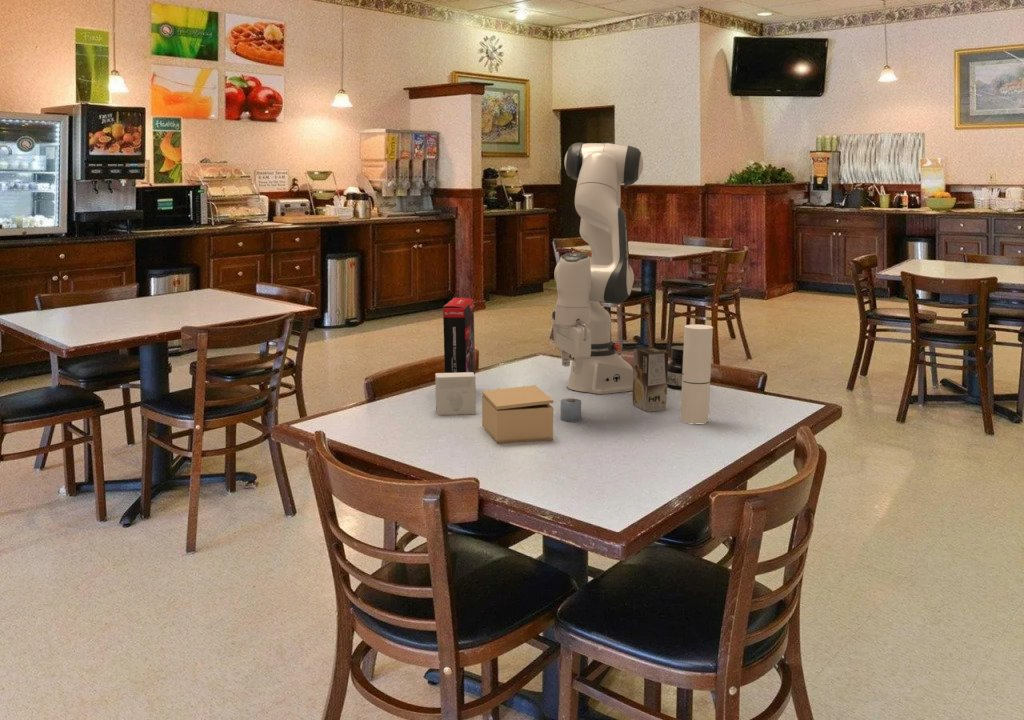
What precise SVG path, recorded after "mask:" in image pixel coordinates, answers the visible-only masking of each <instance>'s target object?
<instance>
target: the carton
mask: <svg viewBox="0 0 1024 720" xmlns="http://www.w3.org/2000/svg"><path fill="white" fill-rule="evenodd" d="M481 396H482V397H481V402H482V403H481V411H482V412H481V413H482V415H481V422H482V423H481V425H482V427H483V429H485V431H486V432H487V433H488V435H489V436H490V437H491V438H492V440H493V441H494V442H495V443H496V444H506V443H508V444H509V443H521V442H522V443H523V442H536V441H537V442H538V441H551V440H552V441H553V440H554V406H552V404H542V405H534V406H525V407H516V408H508V409H499V410H497V409H496V408H495V407H494V406H493V405H492V404H491V403H490V402H489V401H488V400H487V399H486V398H485V397H484V396H483V394H481Z"/></svg>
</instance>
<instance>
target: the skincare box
mask: <svg viewBox="0 0 1024 720" xmlns="http://www.w3.org/2000/svg"><path fill="white" fill-rule="evenodd" d="M434 376H435V379H434V380H435V386H434V387H435V389H434V390H435V411H436V415H437V416H461V415H476V414H477V411H476V410H477V409H476V408H477V401H476V397H477V395H476V394H477V393H476V389H477V388H476V385H477V384H476V374H475V375H474V373H473V372H462V373H445V372H436V373H435V374H434Z"/></svg>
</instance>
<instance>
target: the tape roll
mask: <svg viewBox="0 0 1024 720" xmlns="http://www.w3.org/2000/svg"><path fill="white" fill-rule="evenodd" d="M559 411H560V412H559V413H560V415H559V418H560V421H562V422H567V423H577V422H580V421H582V400H581V399H578V398H571V397H570V398H562V399H561V400H560V409H559Z"/></svg>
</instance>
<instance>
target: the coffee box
mask: <svg viewBox="0 0 1024 720" xmlns="http://www.w3.org/2000/svg"><path fill="white" fill-rule="evenodd" d="M668 363H669V352H667V351H664V350H661V349H659V348H657V347H653V346H652V347H650V346H648V347H640V348H639V347H637V348H633V366H632V368H633V391H632V403H631V404H632V405H633V406H634V407H637V408H639V409H641V410H643V411H645V412H647V413H649V412H659V411H660V412H661V411H666V410H667V403H668V402H667V400H668V397H667V395H668V387H667V377H668Z"/></svg>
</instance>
